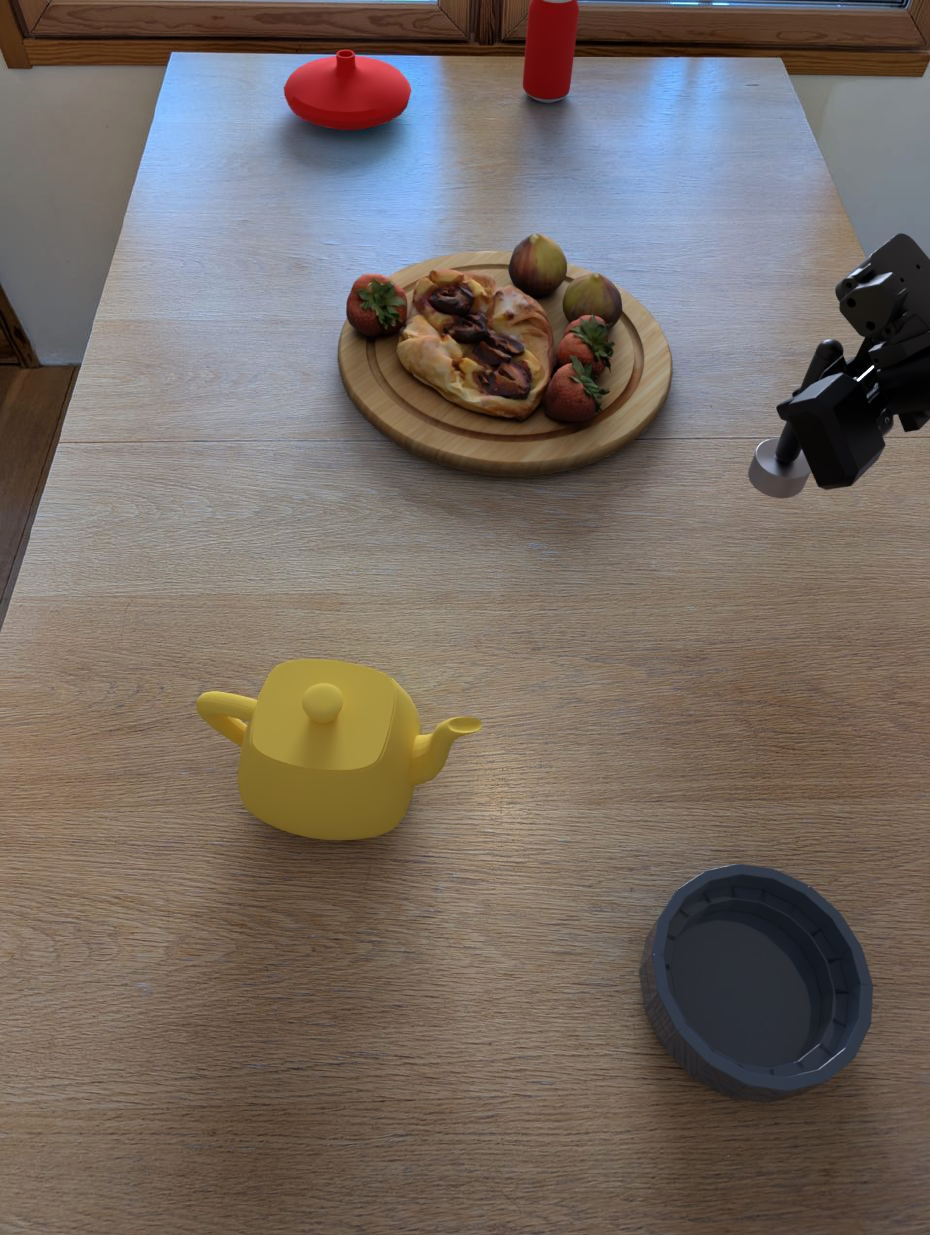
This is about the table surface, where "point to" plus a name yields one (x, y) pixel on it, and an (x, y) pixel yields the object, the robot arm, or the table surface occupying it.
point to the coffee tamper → (790, 440)
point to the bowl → (755, 984)
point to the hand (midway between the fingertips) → (787, 405)
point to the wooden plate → (503, 360)
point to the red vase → (347, 92)
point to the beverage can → (550, 48)
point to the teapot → (330, 748)
